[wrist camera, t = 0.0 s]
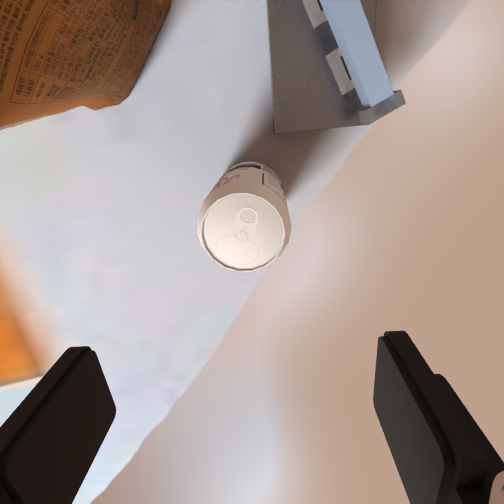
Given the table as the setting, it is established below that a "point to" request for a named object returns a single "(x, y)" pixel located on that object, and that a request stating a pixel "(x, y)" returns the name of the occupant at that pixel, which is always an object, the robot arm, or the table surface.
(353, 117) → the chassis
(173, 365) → the table surface
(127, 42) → the pancake mix bag
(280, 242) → the supplement can
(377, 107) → the bar
